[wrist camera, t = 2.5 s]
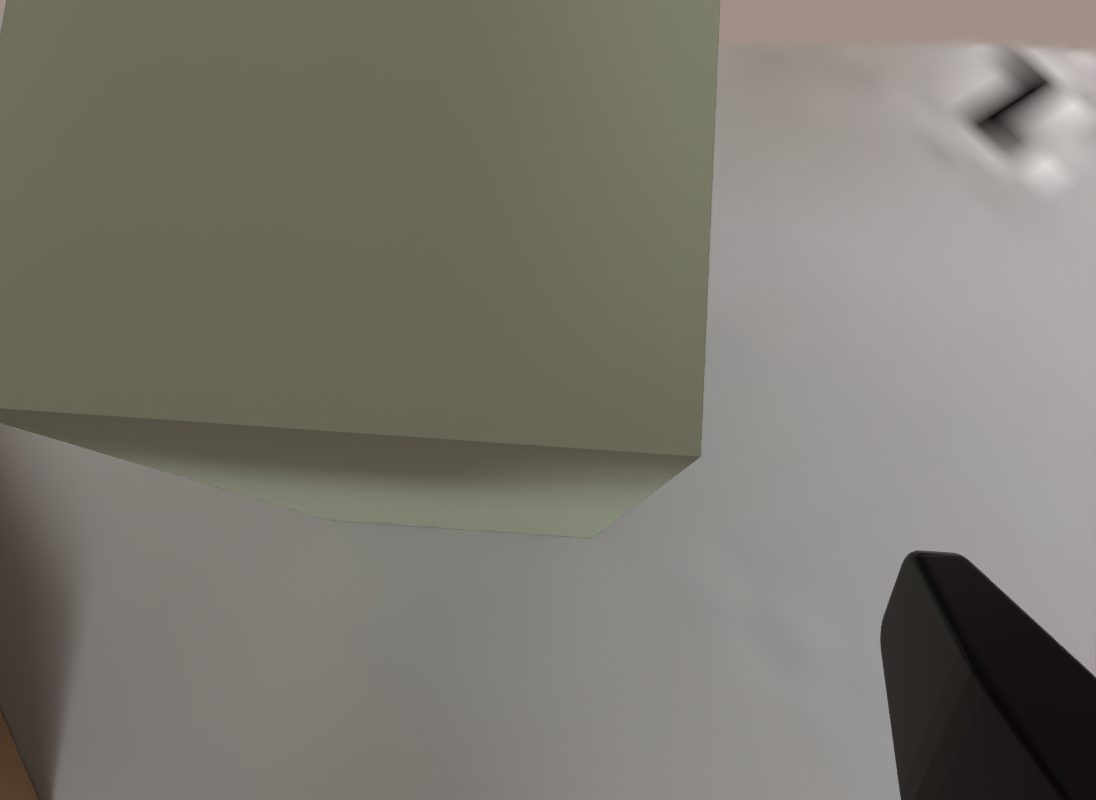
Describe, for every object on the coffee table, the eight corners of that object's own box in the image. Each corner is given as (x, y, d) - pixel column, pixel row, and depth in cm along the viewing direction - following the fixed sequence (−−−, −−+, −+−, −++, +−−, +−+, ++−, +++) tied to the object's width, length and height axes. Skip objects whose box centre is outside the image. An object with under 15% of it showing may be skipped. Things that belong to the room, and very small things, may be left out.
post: (592, 538, 20) (700, 456, 7) (326, 520, 20) (-63, 404, 7) (607, 282, 20) (729, -216, 8) (353, 264, 20) (51, -266, 8)
